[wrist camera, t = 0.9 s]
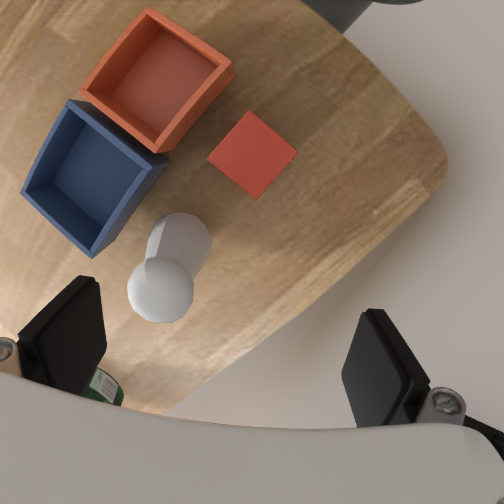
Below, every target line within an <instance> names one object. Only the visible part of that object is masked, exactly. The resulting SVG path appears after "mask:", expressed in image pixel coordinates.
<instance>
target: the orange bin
mask: <svg viewBox="0 0 504 504" xmlns="http://www.w3.org/2000/svg"><path fill="white" fill-rule="evenodd" d="M235 77H236V74H235V70H234V66H233V62H232V61H231V60H229V59H228V58H227V57H225V56H224V55H223V54H221V53H220V52H218V51H217V50H216V49H214V48H213V47H211V46H210V45H208V44H207V43H205V42H204V41H203V40H201V39H200V38H198V37H197V36H195V35H194V34H192V33H191V32H189V31H188V30H186V29H184V28H183V27H181V26H180V25H178V24H177V23H175V22H173V21H172V20H170V19H168V18H167V17H165V16H164V15H162V14H160V13H159V12H157V11H155V10H153V9H152V8H150V7H148V6H147V7H146V8H145V9H144V10H143V11H142V12H141V13H140V14H139V16H138V17H137V18H136V19H135V20H134V21H133V22H132V23H131V24H130V26H129V27H128V28H127V29H126V30H125V31H124V32H123V34H122V35H121V36H120V37H119V38H118V40H117V41H116V42H115V43H114V45H113V46H112V47H111V48H110V50H109V51H108V52H107V53H106V55H105V56H104V57H103V59H102V60H101V61H100V63H99V64H98V65H97V67H96V68H95V69H94V71H93V72H92V73H91V75H90V76H89V78H88V79H87V81H86V82H85V83H84V85H83V86H82V88H81V89H80V91H79V94H80V95H82V96H83V97H84V98H86V99H87V100H88V101H89V102H91V103H92V104H93V105H94V106H96V107H97V108H98V109H100V110H101V111H102V112H103V113H105V114H106V115H107V116H108V117H110V118H111V119H112V120H113V121H115V122H116V123H117V124H119V125H120V126H121V127H122V128H124V129H125V130H126V131H127V132H129V133H130V134H131V135H132V136H134V137H135V138H136V139H137V140H139V141H140V142H141V143H142V144H144V145H145V146H146V147H147V148H149V149H150V150H151V151H152V152H154V153H161V152H167V151H173V149H174V148H175V147H176V145H177V144H178V143H179V142H180V140H181V139H182V138H183V137H184V135H185V134H186V133H187V132H188V131H189V129H190V128H191V127H192V126H193V124H194V123H195V122H196V121H197V120H198V118H199V117H200V116H201V115H202V114H203V113H204V111H205V110H206V109H207V108H208V107H209V106H210V104H211V103H212V102H213V101H214V100H215V99H216V98H217V97H218V95H219V94H220V93H221V92H222V91H223V90H224V89H225V88H226V87H227V85H228V84H229V83H230V82H231V81H232V80H233V79H234V78H235Z"/></svg>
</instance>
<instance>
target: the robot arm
mask: <svg viewBox="0 0 504 504" xmlns="http://www.w3.org/2000/svg"><path fill="white" fill-rule="evenodd" d="M18 336H19V340H18V342H17V343H16V342H15V341H14V340H12V339H10V338H6V337H0V504H504V433H503V432H501V431H499V430H496V429H495V428H492V427H490V426H488V425H486V424H484V423H482V422H479V421H477V420H475V419H473V418H471V417H468V416H467V415H465V413H466V404H465V401H464V399H463V398H462V397H461V396H460V395H459V394H458V393H457V392H455V391H454V390H452V389H449V388H445V387H436V388H433V389H432V390H431V389H430V387H429V383H430V379H429V378H428V376H427V375H426V373H425V372H424V370H423V368H422V367H421V365H420V363H419V362H418V360H417V359H416V357H415V356H414V354H413V353H412V351H411V349H410V348H409V346H408V345H407V343H406V342H405V340H404V339H403V337H402V336H401V334H400V333H399V331H398V330H397V328H396V327H395V325H394V324H393V322H392V321H391V319H390V318H389V317H388V315H387V314H386V312H385V311H384V310H383V309H368V310H366V312H363V313H362V314H361V316H360V319H359V323H358V326H357V328H356V331H355V334H354V337H353V341H352V343H351V346H350V349H349V352H348V355H347V358H346V361H345V363H344V366H343V369H342V381H343V384H344V387H345V390H346V393H347V396H348V399H349V402H350V406H351V409H352V412H353V415H354V418H355V422H356V425H357V428H336V429H287V428H265V427H264V428H263V427H249V426H236V425H226V424H217V423H209V422H200V421H193V420H187V419H180V418H174V417H168V416H163V415H157V414H152V413H147V412H142V411H137V410H132V409H128V408H123V407H119V406H115V405H111V404H107V403H103V402H99V401H95V400H92V399H88V398H85V397H81V396H80V395H81V393H82V391H83V390H84V388H85V386H86V384H87V383H88V381H89V379H90V377H91V376H92V374H93V372H94V370H95V369H96V367H97V365H98V364H99V362H100V360H101V359H102V357H103V355H104V354H105V352H106V348H107V341H106V334H105V328H104V320H103V312H102V304H101V295H100V286H99V283H98V282H96V281H95V278H94V277H88V276H82V275H79V276H77V277H76V278H75V279H74V280H73V281H72V282H71V283H70V284H69V285H67V286H66V287H65V288H64V289H63V290H62V291H61V292H60V293H59V294H58V295H57V296H56V297H55V298H54V299H53V300H52V301H50V302H49V303H48V304H47V305H46V306H45V307H44V308H43V309H42V310H41V311H40V312H39V313H38V314H37V315H36V316H35V317H34V318H33V319H32V320H31V321H30V322H29V323H28V324H27V325H26V326H25V327H24V328H23V329H22V330H21V331H20V332H19V333H18Z"/></svg>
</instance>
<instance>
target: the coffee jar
mask: <svg viewBox="0 0 504 504" xmlns="http://www.w3.org/2000/svg"><path fill="white" fill-rule="evenodd" d="M80 396H81V397H85V398H88V399H92V400H95V401H99V402H103V403H107V404H111V405H115V406H119V407H121V404H122V401H123V398H124V393H123V390H122V389H121V387H120V386H119V384H118V383H117V382H116V381H115V379H114V378H113V377H112V376H110V375H109V374H108V373H106V372H105V371H103V370H102V369H100V368H97V367H96V369H95V370H94V372H93V374H92V376H91V377H90V379H89V381H88V383H87V384H86V386H85V388H84V390H83V391H82V393H81V395H80Z"/></svg>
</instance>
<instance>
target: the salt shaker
mask: <svg viewBox="0 0 504 504" xmlns="http://www.w3.org/2000/svg"><path fill="white" fill-rule="evenodd" d="M211 242H212V239H211V237H210V235H209V232H208V230H207V227H206V225H205V224H204V223H203V222H202V221H201V220H199V219H198V218H197V217H196V216H194V215H191V214H188V213H185V212H177V213H169V214H167V215H166V216H164V217H163V218H161V219H160V220H158V221H157V222H156V223H155V225H154V227H153V228H152V230H151V232H150V234H149V239H148V244H147V249H146V255H145V260H144V261H143V262H142V263H140V264H139V265H137V267H136V268H135V269H134V271H133V273H132V275H131V277H130V279H129V281H128V299H129V301H130V303H131V305H132V307H133V309H134V311H135V312H137V313H138V314H139V315H140V316H142V317H143V318H144V319H146V320H149V321H152V322H155V323H158V324H162V323H172V322H174V321H176V320H178V319H180V318H182V317H183V316H184V315H185V313H186V312H187V310H188V308H189V307H190V305H191V303H192V302H193V290H194V283H193V281H192V280H193V279H194V277H195V276H196V274H197V273H198V272H199V270H200V269H201V267H202V266H203V265H204V263H205V261H206V260H207V258H208V256H209V255H210V251H211Z"/></svg>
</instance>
